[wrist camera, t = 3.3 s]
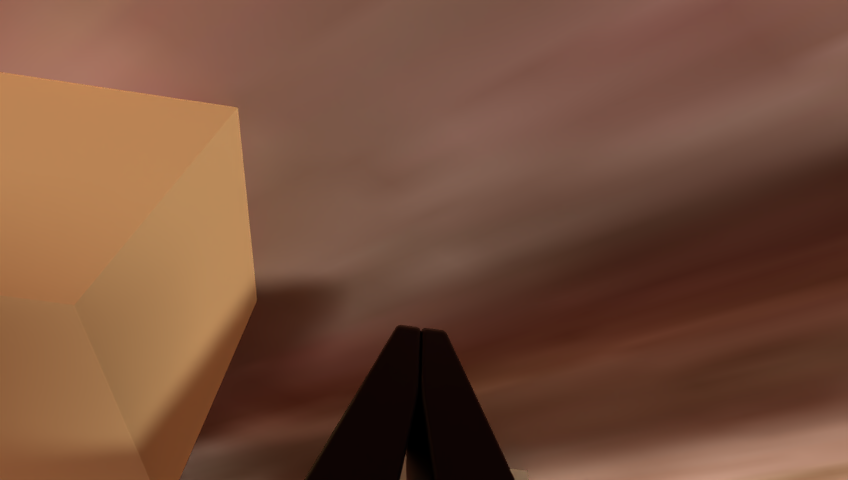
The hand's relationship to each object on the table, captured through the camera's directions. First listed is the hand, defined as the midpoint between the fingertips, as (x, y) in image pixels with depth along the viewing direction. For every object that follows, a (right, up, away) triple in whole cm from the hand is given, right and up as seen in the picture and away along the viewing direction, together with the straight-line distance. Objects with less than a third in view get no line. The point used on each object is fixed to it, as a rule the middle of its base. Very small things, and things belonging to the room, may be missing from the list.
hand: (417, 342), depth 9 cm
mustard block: (-6, +3, +2) cm, 7 cm away
